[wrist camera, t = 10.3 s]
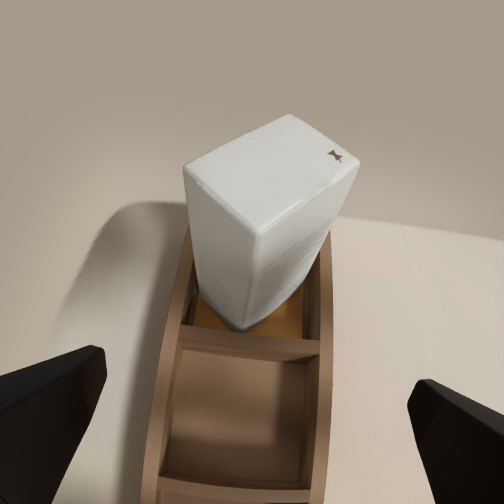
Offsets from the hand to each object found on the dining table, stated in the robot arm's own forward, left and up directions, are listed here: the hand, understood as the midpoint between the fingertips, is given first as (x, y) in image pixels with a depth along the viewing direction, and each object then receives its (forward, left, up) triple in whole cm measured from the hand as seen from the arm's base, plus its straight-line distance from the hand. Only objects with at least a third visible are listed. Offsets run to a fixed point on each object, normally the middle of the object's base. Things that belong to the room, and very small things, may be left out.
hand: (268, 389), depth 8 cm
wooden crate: (-1, 0, -12) cm, 13 cm away
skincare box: (+6, +5, -11) cm, 14 cm away
